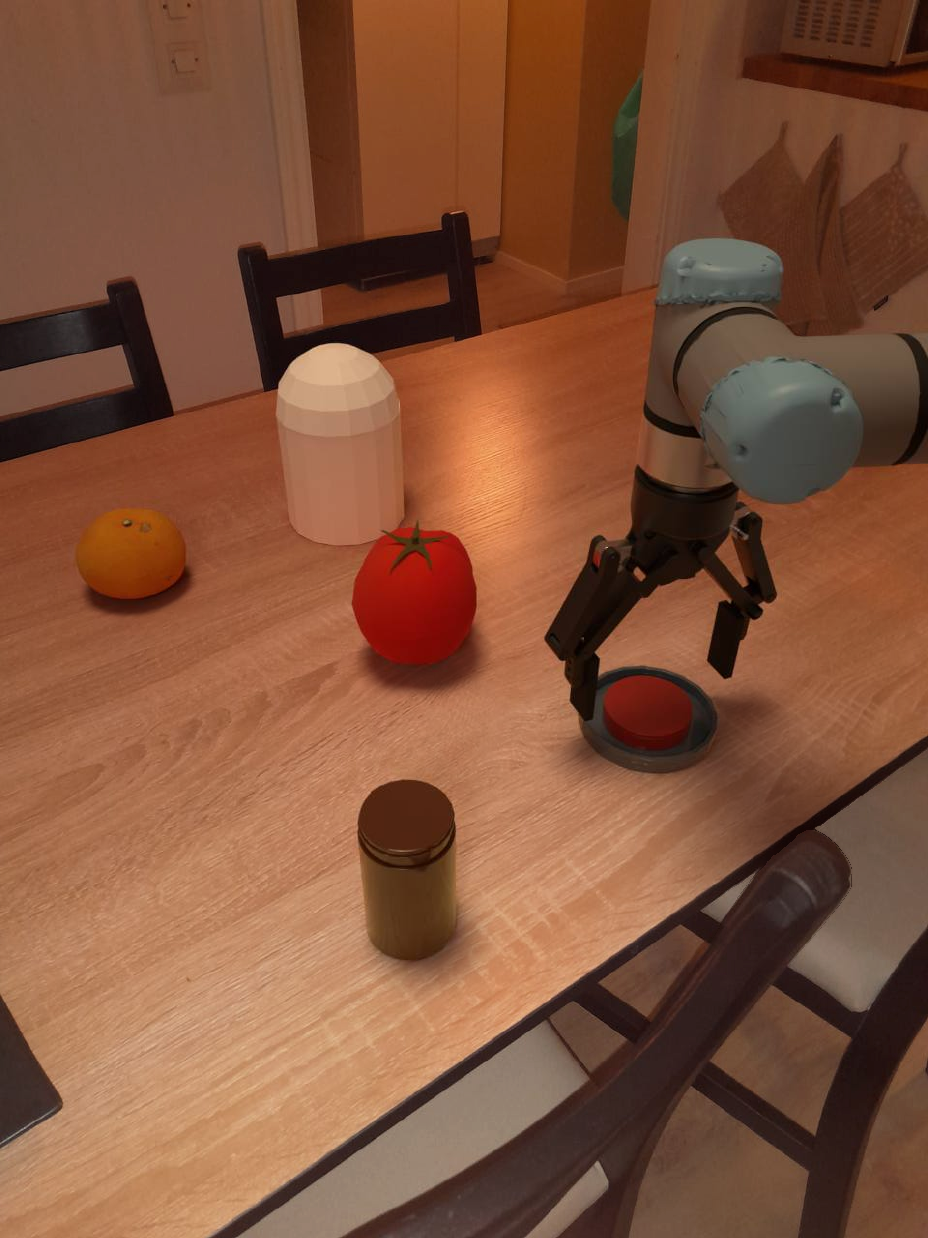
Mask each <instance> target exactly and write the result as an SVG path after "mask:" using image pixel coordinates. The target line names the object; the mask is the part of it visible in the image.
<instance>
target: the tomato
mask: <svg viewBox="0 0 928 1238" xmlns="http://www.w3.org/2000/svg"><path fill="white" fill-rule="evenodd" d="M380 531H382V532H384V533H386V535H384V536H381V537H379V539H377V540H376V542H375V543H374V545H373V546H372V547H371V549H370V551H369V552H368V553H367V555H366V556H365V558H364V560H363V563H362V565H361V566H360V569H359V570H358V572H357V574H356V576H355V578H354V583H353V584H354V585H353V589H352V598H351V607H352V610H353V614H354V617H355V620H356V623H357V626H358V628H359V630H360V633H361V634H362V636H363V637H364V638H365V640H366V642H367V643H368V644H369V646H370V647H371V649H372V650H374V652H376V653H377V654H379V655H380V656H381V657H383V658H385V659H386V660H388V661H390V662H392V663H395V664H404V665H415V666H424V667H425V666H429V665H431V664H435V663H438V662H440V661H441V662H442V661H443V660H444V659H446V658H448V657H449V656H451V655H452V654H454V653H455V652H456V651H457V650H458V649H459V648H460V646H461V645H462V643H463V642H464V640H465V639H466V637H467V635H468V634H469V632H470V631H471V629H472V625H473V622H474V619H475V616H476V613H477V607H478V605H477V603H478V602H477V601H478V594H477V592H478V590H477V589H478V588H477V587H478V586H477V584H476V580H475V577H474V569H473V564H472V561H471V559H470V556H469V553H468V550H467V549H466V547H465V546H464V544H463V542H462V541H461V539H460V538H459V537H457V536H456V535H455V534H454V533H452V532H449V531H446V530H443V529H440V530H439V529H438V530H434V529H433V530H424V529H421V528H420V525H419V519H417V520H416V523H415V526H414V527H413V526H408V527H407V526H406V527H398V528H397V529H396V530H394V531H392V532H390V533H388V532H386V531H384V530H380Z"/></svg>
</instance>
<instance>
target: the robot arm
mask: <svg viewBox="0 0 928 1238" xmlns="http://www.w3.org/2000/svg"><path fill="white" fill-rule="evenodd" d="M783 275H784V264H783V261H782V258H781V257H780V256H779V255H778V254H777V252H775V251H774V250H772V249H771V248H769V247H767V246H765V245H763V244H760V243H757V242H753V241H749V240H743V239H737V238H727V237H726V238H725V237H712V238H709V237H708V238H707V237H706V238H696V239H692V240H688V241H684V242H682V243H680V244H677V245H676V246H675V247H673V248H671V250H670V251H669V252H668V253H667V254H666V256H665V258H664V260H663V263H662V267H661V273H660V278H659V281H658V288H657V293H656V297H655V298H654V299H653V303H652V306H653V307H655V309H654V317H653V324H652V333H651V342H650V349H649V357H648V366H647V374H646V382H645V391H644V401H643V406H642V414H641V419H640V426H639V434H638V440H637V445H636V446H637V447H636V454H635V458H636V463H637V464H636V466H635V469H634V475H633V483H632V489H631V497H630V498H631V499H630V515H631V527H630V528H629V531H628V533H627V534H626V536H625V538H622V539H617V540H608V539H606V537H605V536H604V535H602V534H598V535H595V536H594V537H593V538H591V540H590V544H589V548H588V551H587V557H586V561H585V564H583V566H582V568H581V571H580V573H579V574H578V575H577V578H576V580H575V581H574V583H573V585H572V586H571V589H570V590H569V591H568V594H567V595H566V598H565V600H563V602H562V605H561V606H560V608H559V609H558V612H557V613H556V615H555V617H554V619H553V620H552V622H551V624H550V625H549V628H548V629H547V630H546V633H545V635H544V637H543V641H544V642H545V643H546V644H547V646H548V647H549V649H550V650H551V651H552V653H553V654H554V655H555V656H556V658H557V659H558V660H559V661H560V662H564V672H563V675H564V678H565V679H566V681H567V682H568V683H569V685H570V693H569V702H570V704H571V705H572V706H573V708H574V709H575V710H576V712H577V714H580V716H581V717H582V718H583V720H584V721H585V722H586V721H589V720H592V719H593V715H594V707H595V698H596V690H597V682H598V676H599V673H600V664H601V658H600V657H599V656H598V655H597V650H599V648H600V647H601V646H602V644H604V642H605V641H606V640H607V638H609V636H610V635H611V634H612V633H613V632H614V630H615V629H616V628H617V627H618V626H619V625H620V623H621V622H622V621H623V620H624V619H625V618H626V616H627V615H628V614H629V613H630V612H631V611H632V610H633V609H634V608H635V606H636V605H637V604H638V603H639V601H641V599H647V598H649V597H650V596H651V595H652V594H653V593H654V592H655V590H656V589H657V588H658V587H659V586H660V587H663V586H667V585H670V584H672V583H674V582H677V581H678V580H690V579H694V578H696V575H697V574H698V573H699V572H700V571H702V570H704V571H705V573H706V574H707V575H708V577H710V578H711V579H712V580H713V581H714V583H715V584H716V585H717V586H718V588H720V589H721V590H722V592H723V593H724V594H725V595H726V596H727V598H728V599H729V600H730V601H728V599H724V600H721V601H718V605H717V610H716V614H715V619H714V624H713V628H712V633H711V638H710V642H709V647H708V652H707V657H706V662H707V663H708V664H709V665H710V666H711V667H712V669H714V671H715V672H717V673H718V674H719V676H721V678H722V679H723V680H727V679H731V678H732V677H733V675H734V669H735V665H736V662H737V661H736V660H737V657H738V652H739V648H740V643H741V641H744V640H745V638H746V636H747V634H748V631H749V630H748V629H749V626H750V622H751V620H752V621H756V620H757V621H758V620H759V619H760V618H761V617H762V616H763V614H764V609H763V608H762V607H761V606H760V605H761V604H762V603H765V604H772V603H773V602H775V600H776V599H777V596H778V593H777V589H776V585H775V581H774V579H773V576H772V572H771V569H770V566H769V562H768V558H767V556H766V555H767V554H766V552H765V549H764V545H763V542H762V531H763V523H764V519H763V517H762V516H761V515H759V514H758V513H757V512H756V511H755V510H753V509H752V508H750V506H748V505H747V504H746V503H745V502H744V501H738V497H739V494H740V491H741V492H742V494H743V493H744V494H745V495H746V496H748V497H750V498H751V499H753V500H756V501H758V502H762V503H765V504H771V505H793V504H797V503H801V502H804V501H806V500H807V498H810V497H812V496H814V495H816V494H818V493H820V492H826V491H828V490H830V489H832V487H834V486H835V485H836V484H837V483H839V482H840V481H841V480H842V479H844V477H845V475H846V474H847V473H848V472H849V471H850V470H851V469H854V468H855V469H856V468H875V467H877V468H878V467H889V466H893V467H894V466H898V465H927V464H928V332H920V333H905V332H903V333H901V332H899V333H898V332H896V333H895V332H893V333H869V334H868V333H866V334H842V335H840V334H839V335H815V336H814V335H812V336H800V335H795V334H794V333H793V331H792V330H790V329H789V328H788V327H787V326H786V324H784V323H783V322H782V320H781V319H780V318H779V316H777V311H778V306H779V304H780V302H782V299H783V293H782V283H783ZM729 535H730V537H731V540H732V543H733V546H734V550H735V553H736V555H737V558H738V562H739V565H740V567H741V571H742V573H743V576H744V579H745V582H746V585H745V586H743V585H742V584H741V583H740V582H739V581H738V579H737V578H736V577H735V576H734V575H733V574H732V572H731V571H730V570H729V569H728V567H727V566H726V565H725V563H724V562H723V561H722V559H720V557H719V556H718V555H717V554H716V553H717V551H718V550H719V549H720V547H722V545H723V544H724V542H725V541H726V540H727V538H728V537H729ZM637 568H638V570H639V571H640V572H641V573H642V575H644V577H643V578H642V579H640V578H638V577H637V575H635V570H636V569H637Z"/></svg>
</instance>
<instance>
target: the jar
mask: <svg viewBox="0 0 928 1238" xmlns="http://www.w3.org/2000/svg"><path fill="white" fill-rule="evenodd" d="M357 817H358V818H357V822H356V824H357V833H356V835H357V845H358V854H359V864H360V865H359V866H360V877H361V884H362V886H361V887H362V895H363V904H364V906H363V907H364V915H365V925H366V931H367V935H368V937H369V940H370V941H371V943H372V944H373V945H374V947H375V948H376V949H378V951H380V952H381V953H382V954H384V955H385V956H388V957H390V958H393V959H395V960H399V961H420V960H423V959H427V958H429V957H432V956H434V955H436V954H437V953H439V952H440V951H442V950H443V949H444V948H445V947H446V946H447V945H448V944H449V942H450V941H451V939H452V938H453V936H454V934H455V930H456V927H457V825H456V822H455V817H456V813H455V809H454V806H453V803H452V802H451V800H450V799H449V797H448V796H447V794H445V793H444V792H443V791H442V790H441V789H439V788H438V787H437V786H435V785H433V784H431V783H429V782H425V781H422V780H418V779H399V780H393V781H392V780H391V781H389V782H386V783H385V784H380V785H378V786H377V787H376V788H374V789H372V790H370V793H369V795H367V797H366V798H365V799H364V801H363V802H362V804H361V807H360V808H359V813H358V816H357Z"/></svg>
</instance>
